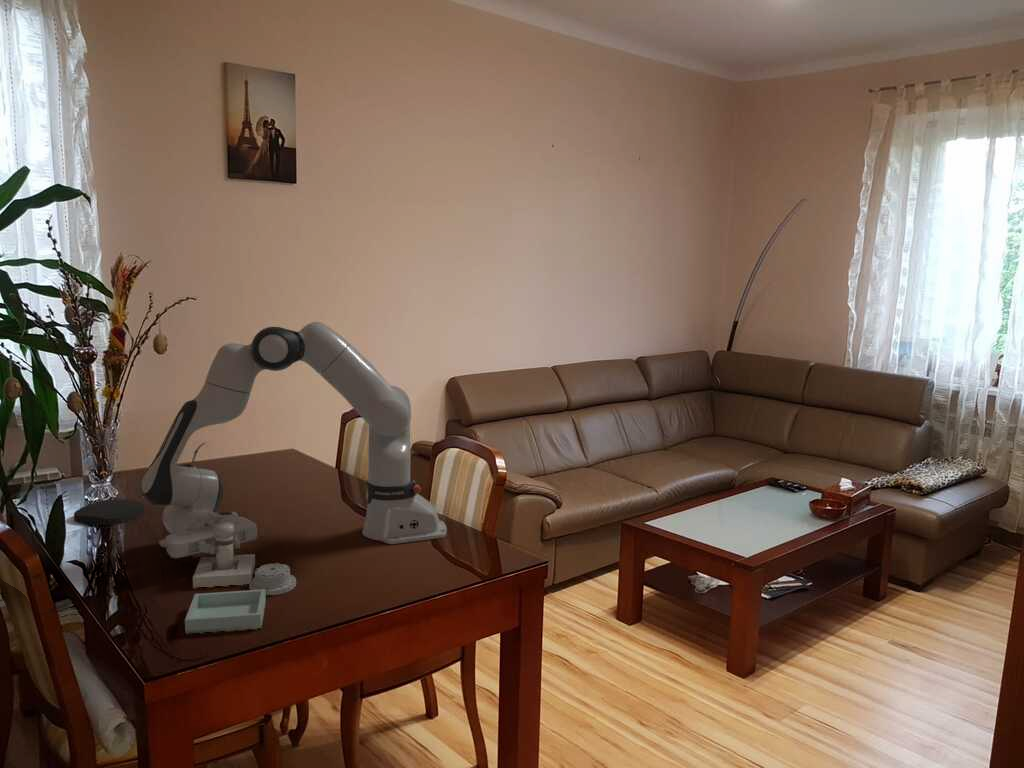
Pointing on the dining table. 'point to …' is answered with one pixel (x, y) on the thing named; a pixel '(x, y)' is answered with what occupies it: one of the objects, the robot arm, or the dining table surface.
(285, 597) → the dining table surface
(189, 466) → the mate gourd
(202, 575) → the grey square frame
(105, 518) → the media streaming box
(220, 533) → the grey peg
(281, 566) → the mechanical component
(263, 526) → the dining table surface
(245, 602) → the parts tray
